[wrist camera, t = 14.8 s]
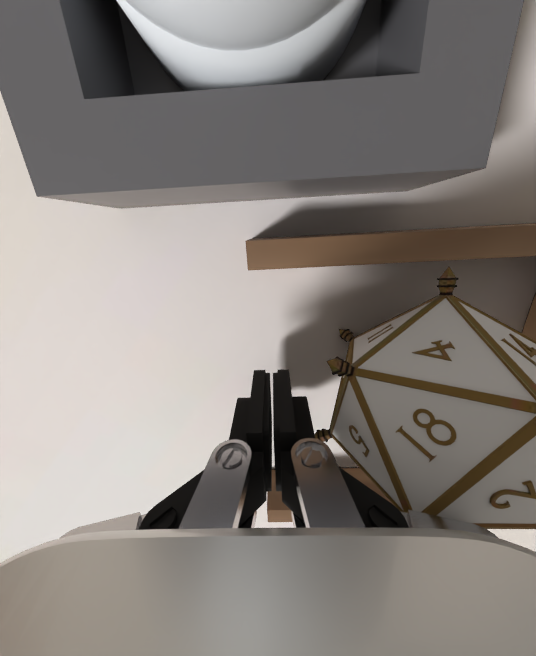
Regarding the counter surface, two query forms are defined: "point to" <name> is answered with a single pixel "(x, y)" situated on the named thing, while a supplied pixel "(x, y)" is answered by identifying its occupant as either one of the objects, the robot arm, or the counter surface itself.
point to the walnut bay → (380, 251)
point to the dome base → (252, 108)
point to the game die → (442, 412)
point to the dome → (244, 39)
